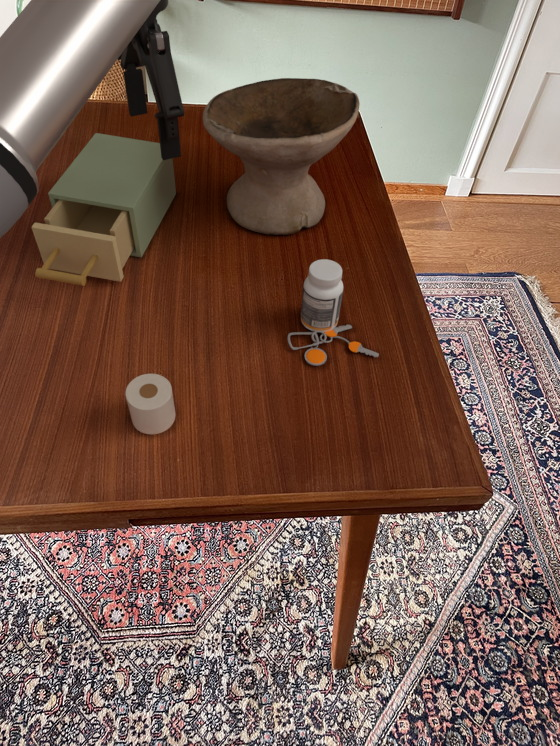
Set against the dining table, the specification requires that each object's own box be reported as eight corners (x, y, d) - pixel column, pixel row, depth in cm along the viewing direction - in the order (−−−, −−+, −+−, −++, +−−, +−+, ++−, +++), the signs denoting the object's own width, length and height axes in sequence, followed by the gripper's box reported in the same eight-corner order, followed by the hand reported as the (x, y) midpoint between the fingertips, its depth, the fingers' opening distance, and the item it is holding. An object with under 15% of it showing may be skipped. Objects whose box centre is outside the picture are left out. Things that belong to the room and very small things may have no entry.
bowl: (295, 154, 116) (304, 49, 101) (373, 221, 104) (397, 113, 88) (181, 188, 107) (171, 78, 91) (251, 267, 94) (254, 155, 78)
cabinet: (141, 257, 94) (133, 207, 86) (62, 243, 95) (47, 193, 88) (176, 193, 106) (171, 144, 98) (105, 181, 107) (95, 132, 99)
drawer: (105, 309, 85) (95, 269, 79) (26, 294, 86) (10, 253, 80) (157, 215, 100) (152, 175, 94) (89, 203, 101) (80, 163, 95)
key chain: (293, 368, 81) (293, 364, 80) (284, 330, 85) (285, 326, 85) (380, 360, 83) (381, 356, 82) (367, 323, 87) (368, 320, 87)
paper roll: (124, 427, 73) (117, 402, 69) (143, 394, 77) (137, 368, 72) (164, 439, 73) (160, 414, 68) (182, 405, 76) (179, 379, 72)
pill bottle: (315, 303, 90) (321, 251, 82) (345, 320, 87) (354, 268, 80) (292, 322, 87) (296, 269, 79) (322, 340, 84) (330, 287, 77)
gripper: (204, 3, 65) (211, 171, 82) (129, -63, 78) (148, 93, 95) (141, 11, 63) (161, 183, 79) (74, -58, 76) (103, 102, 92)
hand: (154, 134), depth 87 cm, fingers open, 13 cm apart
